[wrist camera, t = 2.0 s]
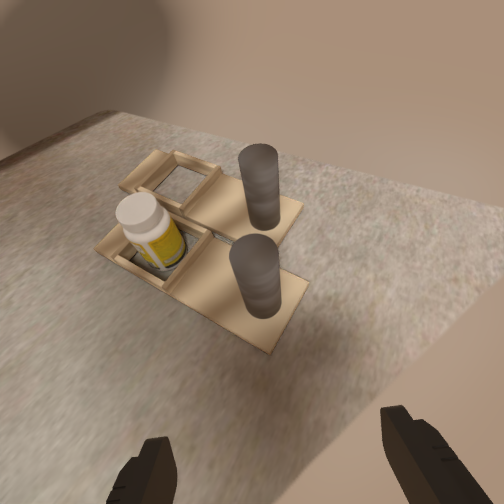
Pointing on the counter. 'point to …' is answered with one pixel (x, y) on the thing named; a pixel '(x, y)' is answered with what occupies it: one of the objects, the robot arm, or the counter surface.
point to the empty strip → (224, 193)
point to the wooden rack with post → (224, 281)
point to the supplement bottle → (151, 231)
